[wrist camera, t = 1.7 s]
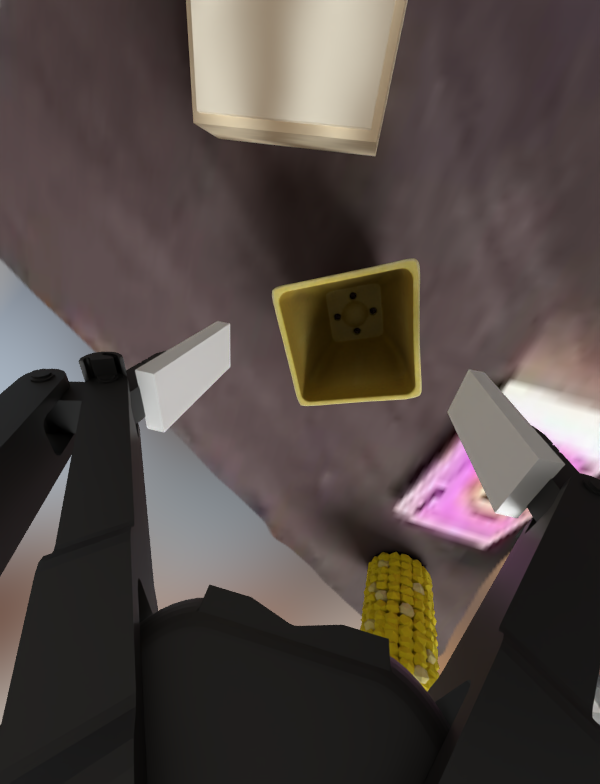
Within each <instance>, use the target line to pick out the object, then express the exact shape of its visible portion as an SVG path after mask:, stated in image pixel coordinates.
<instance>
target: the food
mask: <svg viewBox="0 0 600 784" xmlns="http://www.w3.org/2000/svg"><path fill="white" fill-rule="evenodd" d="M367 572H368V574H367V581H366V588H365V591H364V595H365V597H364V602H363V606H364V607H363V609H362V610H363V613H362V619H361V621H362V625H361V628H360V630H361V631H365V632H368V633H371V634H374V635H378V636H381V637H384V638H388V639H389V650H390V656H391V657H392V658H394V659H395V660H397V661H398V662H399V663H400V664H401V665H403V666H404V667H405V668H406V669H407V670H408V671H409V672H410V673H411V674H412V675H413V676H414V677H415V678H416V679H417V680H418V681H419V682H420V683H421V685H422V686H423V687H424V688H425V690H426V691H428V690H429V689H430V687H431V686H432V685H433V684H434V683H435V681H436V680H437V679H438V677H439V674H438V672H437V670H438V669H439V665H438V662H437V660H438V649H437V646H438V642H437V639H436V636H437V632H436V629H435V624H436V622H437V621H436V619H435V617H434V613H435V611H434V609H433V607H434V603H433V599H432V598H433V592H432V591H431V589H432V583H431V582H432V580H431V577H430V574H429V573H428V572H427V570H426V569H425V567H424V566H422V565H421V563H420V562H419V561H418V560H417V559H416V560H412V559H411V558H410V557H409V556H408V555H406V554H401V556H400V555H399V554H398V553H397V552H394V553H391V554H388V553H385V552H382V553H381V554H380V555H379V556H378V557H376V556H375V557H374V558H373V559H372V562H369V564H368V570H367Z"/></svg>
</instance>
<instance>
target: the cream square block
mask: <svg viewBox="0 0 600 784" xmlns="http://www.w3.org/2000/svg"><path fill="white" fill-rule="evenodd" d="M407 1H408V0H186V8H187V24H188V40H189V57H190V73H191V89H192V106H193V122H194V124H196V125H198V126H199V127H201V128H203V129H204V130H206V131H207V132H209V133H211V134H212V135H214V136H215V137H217V138H219V139H226V140H235V141H244V142H253V143H261V144H270V145H279V146H288V147H297V148H306V149H315V150H324V151H333V152H342V153H350V154H359V155H368V156H376V151H377V146H378V141H379V137H380V132H381V127H382V122H383V117H384V112H385V108H386V103H387V98H388V93H389V88H390V83H391V79H392V74H393V69H394V64H395V59H396V54H397V50H398V45H399V40H400V35H401V30H402V25H403V21H404V16H405V11H406V6H407Z"/></svg>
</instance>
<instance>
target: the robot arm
mask: <svg viewBox="0 0 600 784" xmlns="http://www.w3.org/2000/svg"><path fill="white" fill-rule="evenodd" d="M79 364H80V367H81V370H82V373H83V376H84V379H85V382H69V381H68V378H67V376H66V373H65V372H64V371H62V370H59V369H40V370H35V371H32V372H30V373H27V374H25V375H23V376H22V377H20V378H19V379H18V380H16V381H15V382H14V383H13V384H12V385H11V386H9V387H8V388H7V389H6V390H5V391H3V392H2V393H1V394H0V576H1V574H2V572H3V571H4V569H5V567H6V565H7V564H8V562H9V560H10V559H11V557H12V555H13V554H14V552H15V550H16V549H17V547H18V545H19V543H20V542H21V540H22V538H23V537H24V535H25V533H26V531H27V530H28V528H29V526H30V525H31V523H32V521H33V520H34V518H35V516H36V514H37V513H38V511H39V509H40V508H41V506H42V504H43V502H44V501H45V499H46V497H47V496H48V494H49V492H50V491H51V489H52V487H53V485H54V484H55V482H56V480H57V479H58V477H59V475H60V473H61V472H62V470H63V468H64V467H65V465H66V463H67V461H68V460H69V458H70V456H71V455H72V457H71V463H70V468H69V473H68V479H67V484H66V490H65V496H64V501H63V506H62V511H61V517H60V522H59V528H58V534H57V539H56V545H55V548H54V551H53V553H52V554H49V555H46V556H43V557H42V559H41V560H40V561H39V563H38V566H37V569H36V572H35V576H34V580H33V585H32V589H31V594H30V598H29V603H28V607H27V612H26V616H25V621H24V625H23V630H22V634H21V638H20V643H19V647H18V652H17V656H16V661H15V665H14V670H13V674H12V679H11V683H10V688H9V692H8V697H7V702H6V706H5V710H4V715H3V719H2V724H1V725H0V784H600V725H599V724H598V723H597V722H596V721H595V720H594V719H593V717H592V711H593V704H594V698H595V692H596V686H597V680H598V675H599V669H600V480H599V479H596V478H594V477H592V476H589V475H585V474H580V473H579V472H578V471H577V470H576V469H575V468H574V466H573V465H572V464H571V463H570V462H569V461H568V460H567V459H566V458H565V457H564V455H563V454H562V453H560V452H559V450H558V449H557V448H556V447H555V446H554V445H552V444H553V443H552V442H551V441H550V440H549V439H548V438H547V437H546V436H545V435H544V434H543V433H542V432H540V431H539V430H537V429H536V428H535V427H533V426H531V425H530V424H529V423H528V421H527V420H526V419H525V418H524V417H523V416H522V415H521V413H520V412H519V411H518V410H517V409H516V408H515V407H514V405H513V404H512V403H511V402H510V401H509V400H508V399H507V398H506V396H505V395H504V394H503V393H502V392H501V391H500V390H499V388H498V387H497V386H496V385H495V384H494V383H493V382H492V380H491V379H490V378H489V377H488V376H487V375H486V374H485V373H484V372H480V371H475V370H470V369H469V370H468V372H467V374H466V376H465V378H464V380H463V382H462V384H461V386H460V388H459V390H458V392H457V394H456V396H455V398H454V400H453V402H452V404H451V406H450V408H449V410H448V415H449V417H450V419H451V421H452V423H453V425H454V427H455V429H456V431H457V434H458V436H459V438H460V440H461V442H462V444H463V446H464V448H465V450H466V453H467V455H468V457H469V459H470V461H471V463H472V465H473V467H474V469H475V472H476V474H477V476H478V478H479V480H480V482H481V484H482V486H483V488H484V491H485V493H486V495H487V497H488V499H489V501H490V503H491V505H492V507H493V510H494V512H495V513H497V514H501V515H505V516H510V517H514V518H518V517H519V516H520V515H521V514H522V513H523V511H524V510H525V509H526V508H528V509H529V511H530V513H531V514H532V516H533V518H532V519H531V520H530V521H529V522H528V523H527V524H526V525H525V526H524V527H523V528H522V530H521V531H520V532H519V533H518V534H517V535H516V536H515V537H517V538H518V540H517V542H516V544H515V545H514V547H513V549H512V551H511V552H510V554H509V556H508V558H507V559H506V561H505V563H504V565H503V567H502V568H501V570H500V572H499V574H498V575H497V577H496V579H495V581H494V582H493V584H492V586H491V588H490V589H489V591H488V593H487V595H486V596H485V598H484V600H483V602H482V603H481V605H480V607H479V609H478V611H477V612H476V614H475V616H474V617H473V619H472V621H471V623H470V625H469V626H468V628H467V630H466V632H465V633H464V635H463V637H462V638H461V640H460V642H459V644H458V645H457V647H456V649H455V651H454V652H453V654H452V656H451V658H450V659H449V661H448V663H447V665H446V667H445V668H444V670H443V671H442V673H441V675H440V676H439V677H438V679H437V680H436V681H435V683H434V684H433V685H432V686H431V687H430V689H429V690H428V691H426V690H425V688H424V687H423V686H422V685H421V683H420V682H419V681H418V680H417V679H416V678H415V677H414V676H413V675H412V674H411V673H410V672H409V671H408V670H407V669H406V668H405V667H404V666H403V665H401V664H400V663H399V662H398V661H397V660H395V659H394V658H392V657H391V656H390V650H389V639H388V638H384V637H381V636H378V635H374V634H371V633H368V632H365V631H361V630H358V629H354V628H351V627H348V626H345V625H321V626H319V625H318V626H294V625H291V624H289V623H288V622H286V621H285V620H283V619H282V618H280V617H279V616H278V615H276V614H275V613H273V612H272V611H270V610H269V609H267V608H266V607H265V606H263V605H262V604H260V603H259V602H257V601H256V600H254V599H253V598H251V597H249V596H245V595H242V594H239V593H236V592H232V591H229V590H226V589H222V588H219V587H216V586H212V585H209V587H208V589H207V592H206V594H205V596H204V598H195V599H189V600H185V601H181V602H178V603H175V604H172V605H170V606H168V607H165V608H163V609H161V610H159V611H158V606H157V600H156V595H155V589H154V581H153V571H152V559H151V548H150V538H149V528H148V516H147V505H146V495H145V483H144V473H143V461H142V450H141V439H140V429H139V425H138V422H139V421H141V420H142V419H143V418H144V417H145V420H146V424H147V428H148V429H152V430H156V431H161V432H165V431H166V430H167V429H168V428H169V427H170V426H171V425H172V424H173V423H174V422H175V421H176V420H177V419H178V418H179V417H180V416H181V415H182V414H183V413H184V412H185V411H186V410H187V409H188V408H189V407H190V406H191V405H192V404H193V403H194V402H195V401H196V400H197V399H198V398H199V397H200V396H201V395H202V394H203V393H204V392H205V391H206V390H207V389H208V388H209V387H210V386H212V385H213V384H214V383H215V382H216V381H217V380H218V379H219V378H220V377H221V376H222V375H223V374H224V373H225V372H226V371H227V370H228V369H229V368H230V323H224V322H219V321H217V322H215V323H213V324H212V325H210V326H208V327H207V328H205V329H203V330H202V331H200V332H198V333H196V334H195V335H193V336H191V337H190V338H188V339H186V340H185V341H183V342H181V343H180V344H178V345H176V346H174V347H173V348H171V349H169V350H168V351H163V352H160V353H156V354H154V355H152V356H151V357H149V358H148V359H145V360H144V361H142V362H141V363H138V364H137V365H135V366H133V367H131V368H130V369H128V370H126V369H125V364H124V360H123V357H122V355H121V354H119V353H116V352H97V353H92V354H88V355H86V356H84V357H82V358H81V359H80V360H79Z"/></svg>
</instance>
